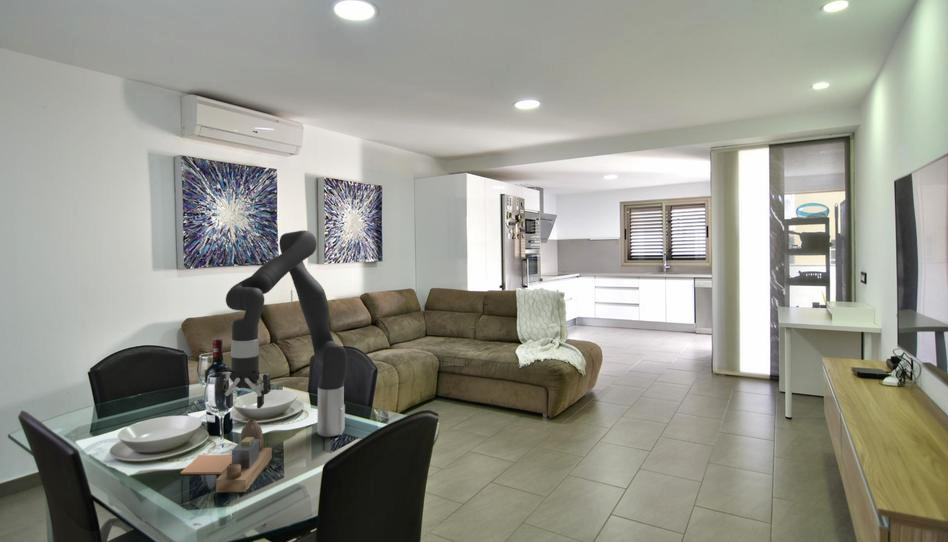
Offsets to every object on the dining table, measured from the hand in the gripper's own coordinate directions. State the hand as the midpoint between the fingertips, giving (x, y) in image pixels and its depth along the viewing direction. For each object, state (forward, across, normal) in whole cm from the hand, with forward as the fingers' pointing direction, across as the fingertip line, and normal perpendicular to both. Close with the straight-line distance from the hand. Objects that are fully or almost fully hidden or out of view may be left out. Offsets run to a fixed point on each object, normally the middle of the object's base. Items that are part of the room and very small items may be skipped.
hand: (244, 407), depth 151 cm
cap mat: (+20, +13, -6) cm, 25 cm away
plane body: (+20, 0, 0) cm, 20 cm away
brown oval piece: (+20, +6, -21) cm, 30 cm away
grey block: (+17, 0, 0) cm, 17 cm away
